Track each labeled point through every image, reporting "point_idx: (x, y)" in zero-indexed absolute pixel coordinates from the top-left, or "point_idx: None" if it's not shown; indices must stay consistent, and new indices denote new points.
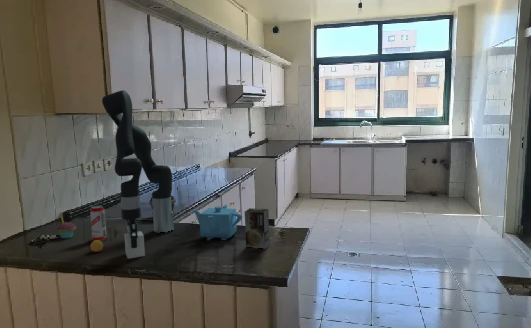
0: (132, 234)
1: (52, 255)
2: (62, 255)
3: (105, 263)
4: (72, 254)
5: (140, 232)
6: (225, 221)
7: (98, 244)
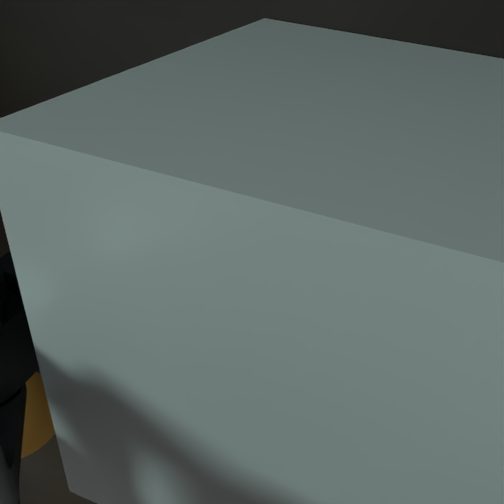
0: (257, 473)
1: (32, 500)
2: (49, 485)
3: None
4: (51, 458)
5: (166, 227)
6: None
7: (28, 431)
